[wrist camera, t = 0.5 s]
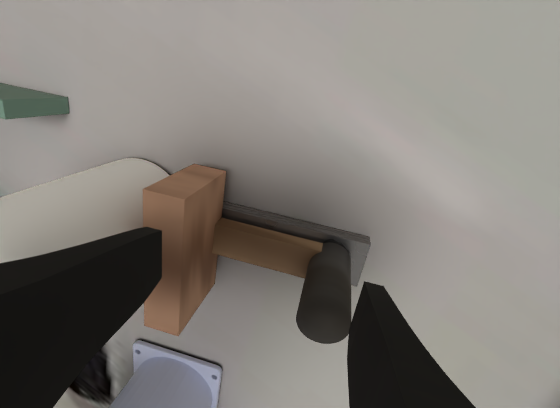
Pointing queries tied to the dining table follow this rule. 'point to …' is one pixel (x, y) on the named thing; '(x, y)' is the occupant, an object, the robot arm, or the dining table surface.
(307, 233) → the rail
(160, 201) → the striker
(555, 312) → the dining table surface
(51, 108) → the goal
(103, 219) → the can
